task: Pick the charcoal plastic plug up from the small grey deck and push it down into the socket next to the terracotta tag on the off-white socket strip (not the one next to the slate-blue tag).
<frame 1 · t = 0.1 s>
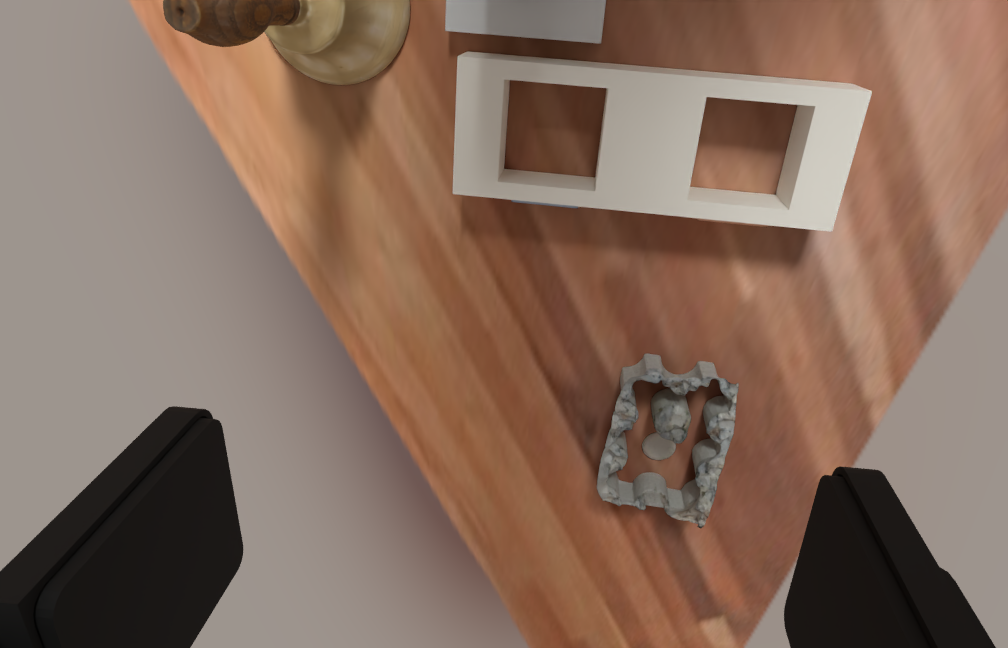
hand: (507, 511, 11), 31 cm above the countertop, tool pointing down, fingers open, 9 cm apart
egg carton: (660, 421, 47), on the countertop
hand bell: (335, 2, 37), on the countertop
socket strip: (645, 134, 38), on the countertop
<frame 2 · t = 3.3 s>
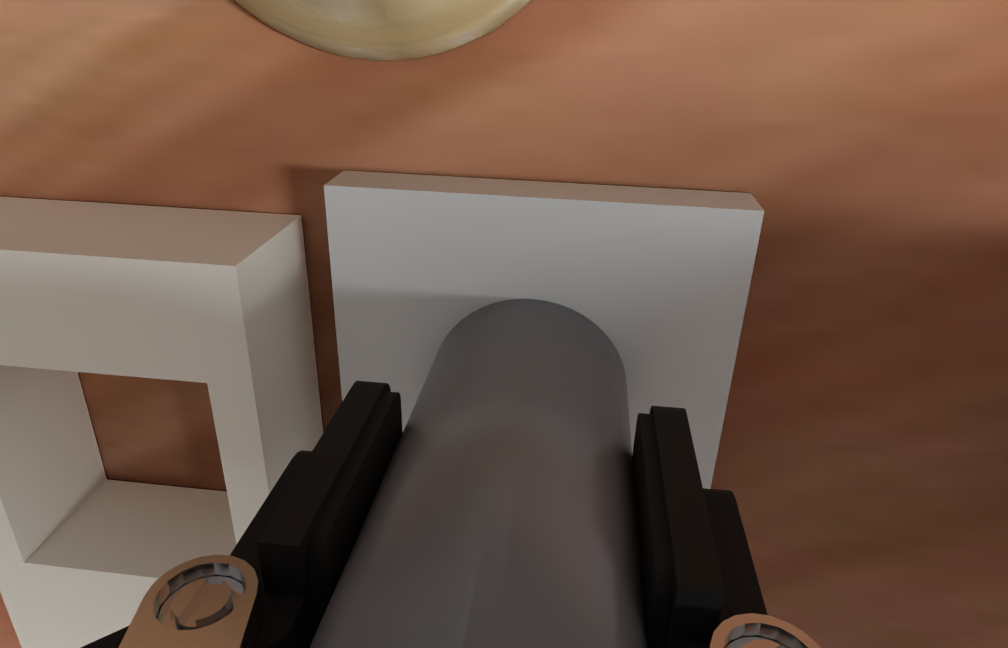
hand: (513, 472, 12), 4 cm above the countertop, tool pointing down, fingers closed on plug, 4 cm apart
socket strip: (214, 558, 19), on the countertop
plug: (528, 387, 14), point 1 cm above the countertop, touching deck, gripper
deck: (532, 360, 15), on the countertop
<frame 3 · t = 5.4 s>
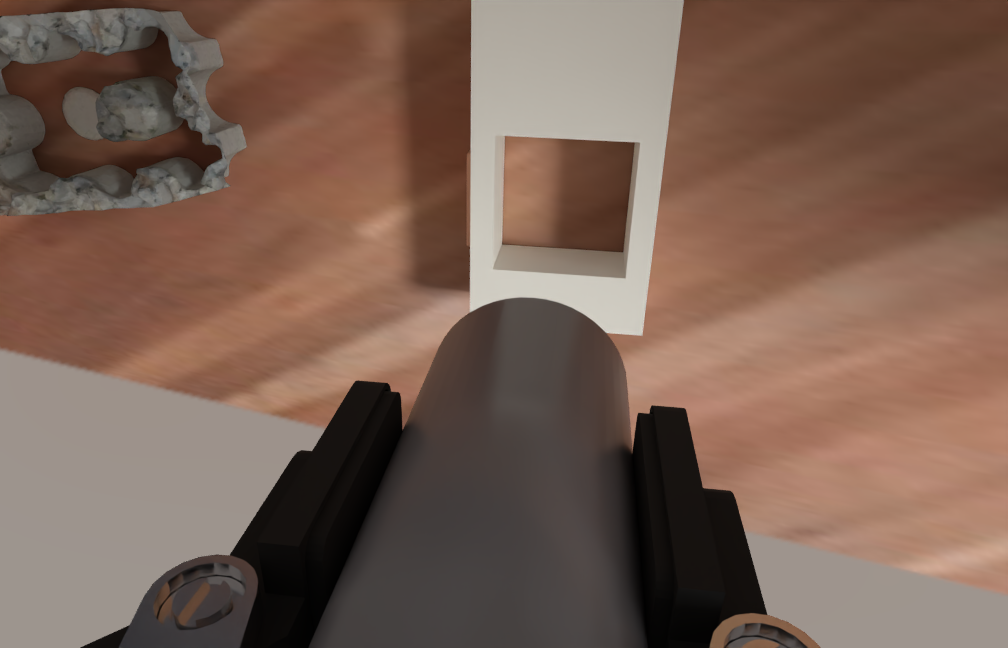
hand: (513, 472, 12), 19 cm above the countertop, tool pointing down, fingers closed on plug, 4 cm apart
egg carton: (128, 103, 30), on the countertop
socket strip: (574, 60, 27), on the countertop
plug: (528, 386, 14), point 16 cm above the countertop, touching gripper
when the fingers open (4 cm above the countertop, at t = 7.7 s): plug drops 1 cm, resting in socket strip.
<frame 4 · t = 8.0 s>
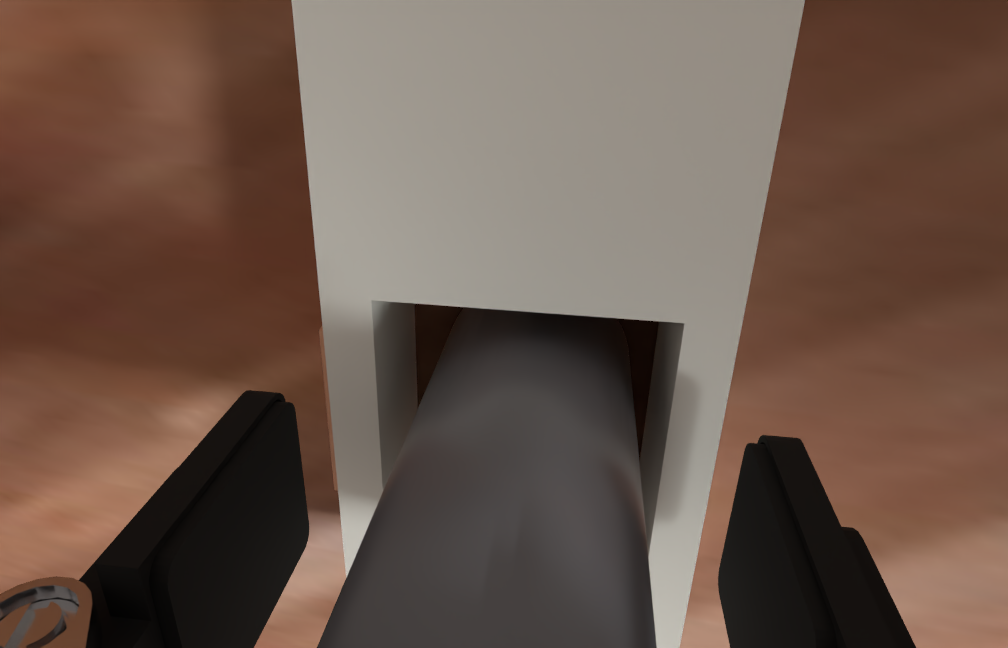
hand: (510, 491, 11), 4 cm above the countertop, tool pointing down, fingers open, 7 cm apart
socket strip: (544, 130, 13), on the countertop
plug: (537, 360, 15), resting in socket strip
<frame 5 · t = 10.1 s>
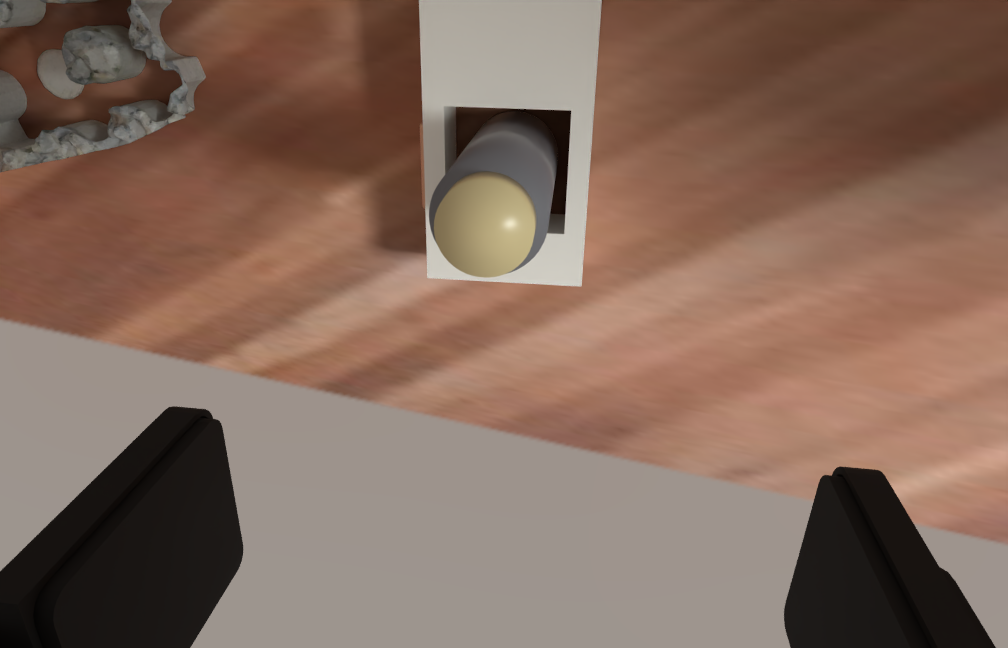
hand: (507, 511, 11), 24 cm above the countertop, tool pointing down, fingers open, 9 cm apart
egg carton: (95, 58, 33), on the countertop
socket strip: (515, 40, 30), on the countertop
plug: (514, 155, 32), resting in socket strip
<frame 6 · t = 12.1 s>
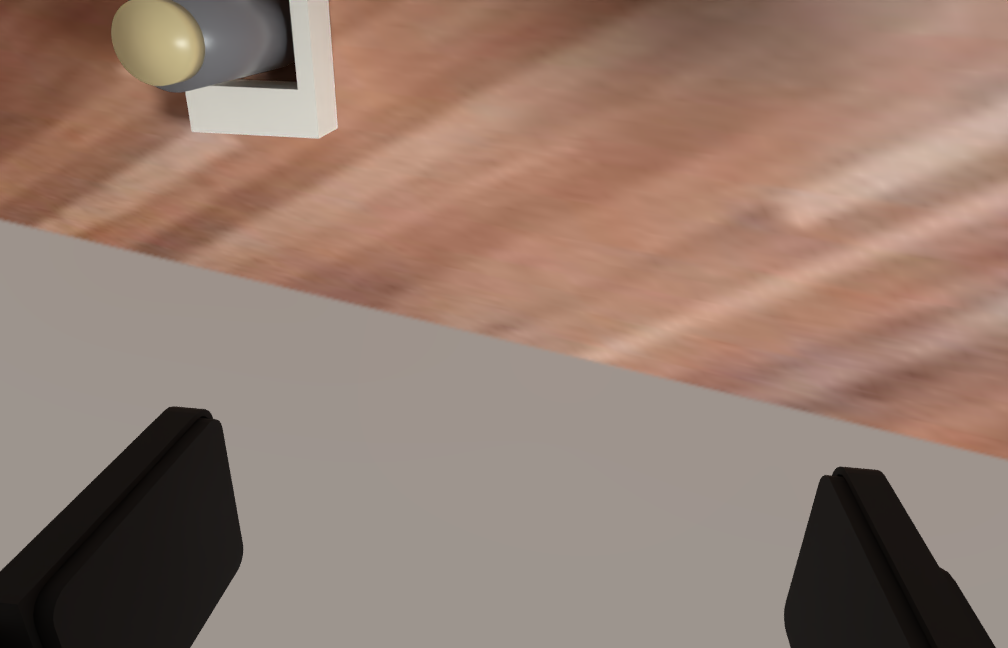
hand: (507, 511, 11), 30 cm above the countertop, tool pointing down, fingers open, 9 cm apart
plug: (269, 28, 38), resting in socket strip
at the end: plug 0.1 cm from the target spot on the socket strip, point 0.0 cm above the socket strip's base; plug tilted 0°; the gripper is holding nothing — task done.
